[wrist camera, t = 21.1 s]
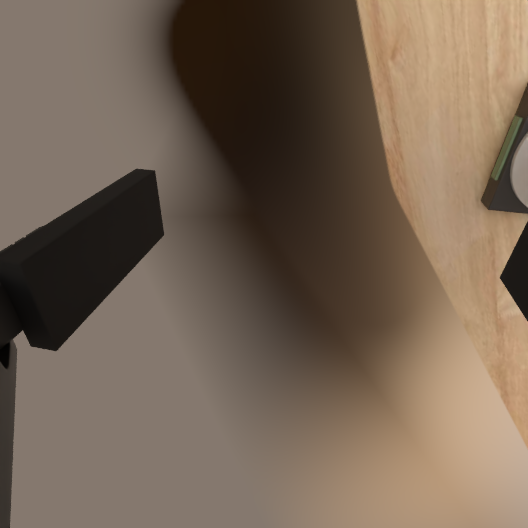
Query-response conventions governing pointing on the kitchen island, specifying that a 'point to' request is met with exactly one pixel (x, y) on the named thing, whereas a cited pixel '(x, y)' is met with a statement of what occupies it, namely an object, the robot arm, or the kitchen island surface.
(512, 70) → the kitchen island surface
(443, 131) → the kitchen island surface
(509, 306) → the kitchen island surface
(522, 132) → the kitchen scale
